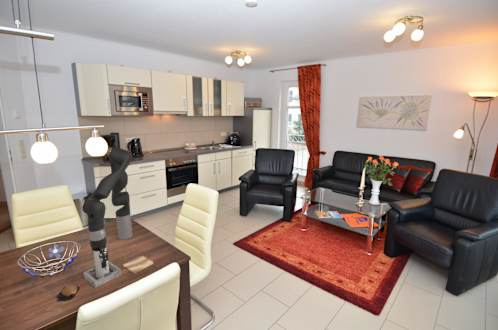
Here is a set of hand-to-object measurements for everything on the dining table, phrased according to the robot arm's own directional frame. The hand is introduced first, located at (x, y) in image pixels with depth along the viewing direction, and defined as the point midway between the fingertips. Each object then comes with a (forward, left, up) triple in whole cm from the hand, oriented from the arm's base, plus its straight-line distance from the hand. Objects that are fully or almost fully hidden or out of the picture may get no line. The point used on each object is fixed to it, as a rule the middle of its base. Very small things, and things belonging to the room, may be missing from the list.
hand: (101, 264), depth 137 cm
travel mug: (0, 0, -7) cm, 7 cm away
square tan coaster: (+6, +17, -7) cm, 19 cm away
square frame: (0, 0, -7) cm, 7 cm away
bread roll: (+1, -16, -7) cm, 18 cm away
